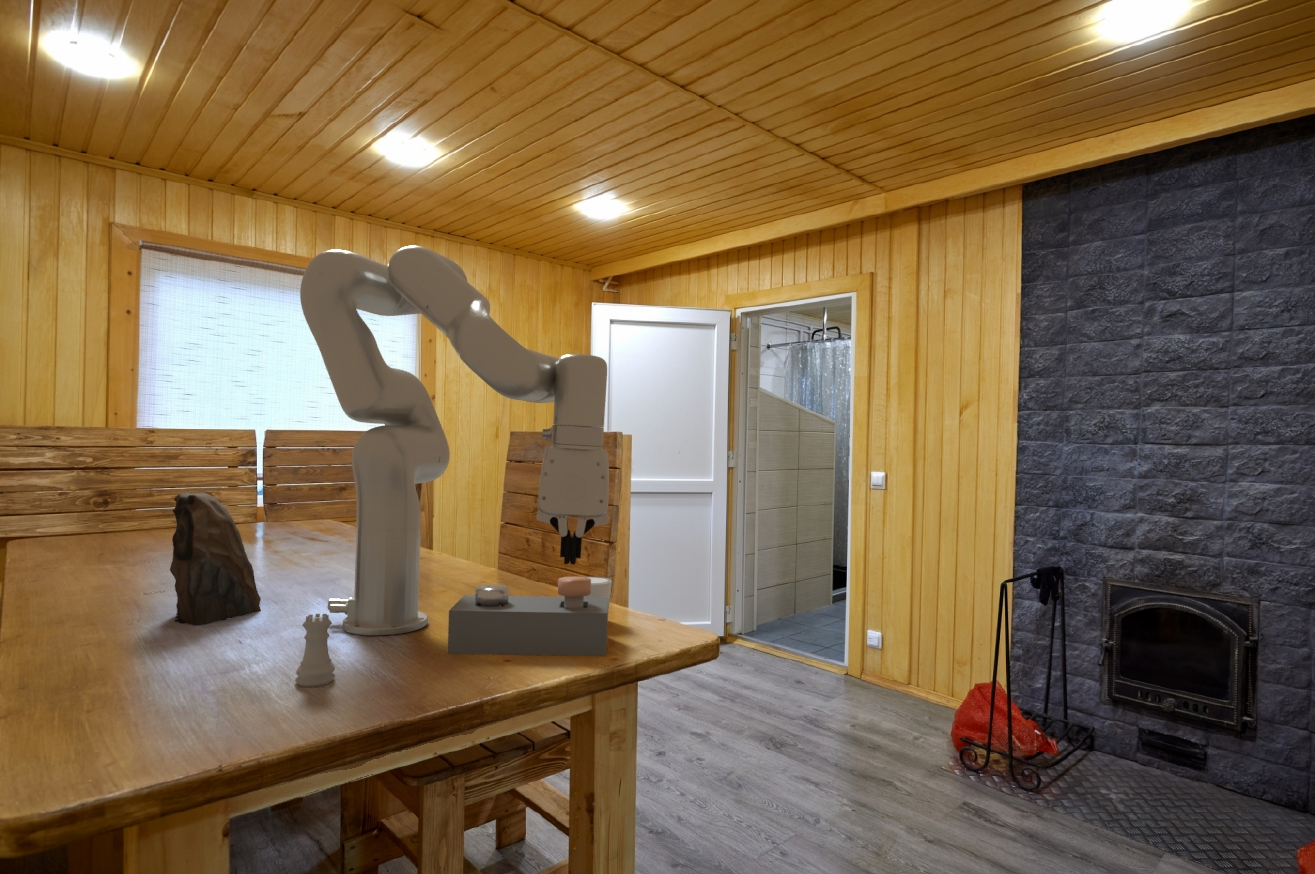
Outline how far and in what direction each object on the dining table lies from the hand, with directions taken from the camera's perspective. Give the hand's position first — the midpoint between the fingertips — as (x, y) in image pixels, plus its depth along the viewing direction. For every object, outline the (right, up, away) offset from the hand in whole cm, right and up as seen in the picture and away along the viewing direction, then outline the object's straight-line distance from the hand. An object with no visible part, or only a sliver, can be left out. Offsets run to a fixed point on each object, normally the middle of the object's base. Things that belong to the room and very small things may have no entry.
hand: (570, 562), depth 106 cm
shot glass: (+2, -13, +14) cm, 19 cm away
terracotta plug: (0, -10, 0) cm, 10 cm away
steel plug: (-12, -11, -1) cm, 16 cm away
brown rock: (-59, -11, +11) cm, 61 cm away
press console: (-6, -12, -1) cm, 13 cm away
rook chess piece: (-29, -11, -19) cm, 36 cm away
